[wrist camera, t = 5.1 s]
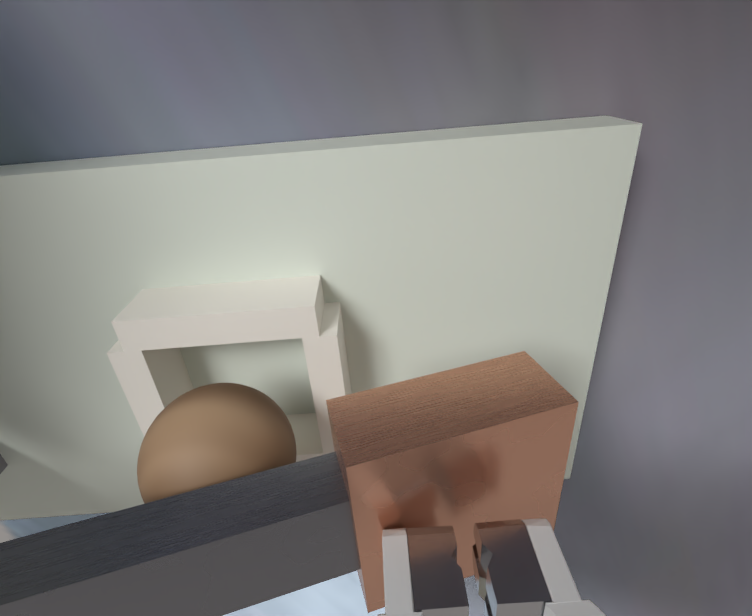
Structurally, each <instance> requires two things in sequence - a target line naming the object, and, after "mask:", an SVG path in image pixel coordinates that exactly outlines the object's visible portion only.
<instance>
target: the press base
mask: <svg viewBox="0 0 752 616" xmlns="http://www.w3.org/2000/svg"><path fill="white" fill-rule="evenodd" d="M642 124H643V123H638V122H634V121H629V120H625V119H620V118H616V117H611V116H607V115H606V116H594V117H582V118H569V119H557V120H545V121H533V122H521V123H509V124H497V125H485V126H473V127H460V128H448V129H436V130H424V131H412V132H400V133H388V134H376V135H363V136H351V137H339V138H327V139H315V140H303V141H291V142H279V143H267V144H254V145H242V146H230V147H218V148H206V149H194V150H182V151H170V152H158V153H145V154H133V155H121V156H109V157H97V158H85V159H73V160H61V161H48V162H36V163H24V164H12V165H0V520H13V519H27V518H41V517H54V516H68V515H82V514H95V513H109V512H116V511H120V510H123V509H127V508H131V507H134V506H138V505H142V504H145V503H144V502H143V499H142V497H141V494H140V490H139V486H138V480H137V462H138V455H139V451H140V447H141V444H142V441H143V439H144V437H145V435H146V432H147V430H148V428H149V427H150V425H151V424H152V423H153V421H154V420H155V418H156V417H157V415H158V414H159V413H160V412H161V411H162V410H163V409H164V408H165V407H166V406H167V405H168V404H170V403H171V402H172V401H174V400H175V399H176V398H178V397H179V396H181V395H182V394H184V393H186V392H188V391H190V390H192V389H195V388H198V387H200V386H204V385H209V384H214V383H236V384H242V385H246V386H249V387H252V388H254V389H257V390H259V391H261V392H263V393H264V394H266V395H267V396H269V397H270V398H271V399H272V400H274V401H275V402H276V404H277V405H278V406H279V407H280V408H281V409H282V410H283V412H284V413H285V415H286V416H287V418H288V420H289V422H290V424H291V426H292V429H293V433H294V436H295V441H296V451H297V454H296V462H299V461H302V460H306V459H310V458H313V457H317V456H321V455H324V454H328V453H331V452H335V451H334V445H333V439H332V433H331V427H330V421H329V415H328V409H327V404H326V400H328V399H332V398H336V397H341V396H345V395H349V394H353V393H357V392H361V391H365V390H369V389H373V388H377V387H381V386H385V385H389V384H393V383H397V382H401V381H405V380H409V379H413V378H417V377H421V376H425V375H429V374H433V373H437V372H441V371H446V370H450V369H454V368H458V367H462V366H466V365H470V364H474V363H478V362H482V361H486V360H490V359H494V358H498V357H502V356H506V355H510V354H514V353H518V352H522V351H525V352H526V353H527V354H528V355H530V356H531V357H532V358H533V359H534V360H535V361H536V362H537V363H538V364H539V365H540V366H541V367H542V368H543V369H544V370H545V371H546V372H548V373H549V374H550V375H551V376H552V377H553V378H554V379H555V380H556V381H557V382H558V383H559V384H560V385H561V386H562V387H563V388H564V389H566V390H567V391H568V392H569V393H570V394H571V395H572V396H573V397H574V398H575V399H576V400H577V401H578V402H579V403H578V408H577V414H576V419H575V424H574V429H573V434H572V439H571V444H570V450H569V455H568V460H567V465H566V470H565V475H564V479H570V476H571V471H572V466H573V461H574V456H575V451H576V446H577V441H578V437H579V432H580V427H581V422H582V417H583V412H584V407H585V402H586V397H587V393H588V388H589V383H590V378H591V373H592V368H593V363H594V358H595V353H596V349H597V344H598V339H599V334H600V329H601V324H602V319H603V314H604V309H605V304H606V300H607V295H608V290H609V285H610V280H611V275H612V270H613V265H614V260H615V256H616V251H617V246H618V241H619V236H620V231H621V226H622V221H623V216H624V212H625V207H626V202H627V197H628V192H629V187H630V182H631V177H632V172H633V168H634V163H635V158H636V153H637V148H638V143H639V138H640V133H641V128H642Z"/></svg>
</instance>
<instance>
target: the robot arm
mask: <svg viewBox="0 0 752 616" xmlns="http://www.w3.org/2000/svg"><path fill="white" fill-rule="evenodd" d="M406 532H407V533H406ZM473 534H474V539H475V543H476V544H475V545H474V546H473V551H472V557H473V569H474V575H475V581H476V586H477V590H478V594H479V595H480V597H481V598H482V599H483V600H484V601H485V602H484V616H607V615H606V614H604V613H603V612H602V611H601V610H600V609H599V608H598V607H597V606H596V605H595V604H594V603H593V602H592V601H591V600H582V599H581V596H580V594H579V591H578V589H577V587H576V584H575V582H574V579H573V577H572V574H571V572H570V570H569V567H568V565H567V562H566V560H565V558H564V555H563V553H562V550H561V548H560V546H559V543H558V541H557V538H556V536H555V534H554V531H553V529H552V526H551V524H550V523H549V521H548V520H547V519H546V518H534V519H523V520H521V519H515V520H504V521H493V522H482V523H475V524H474V530H473ZM382 549H383V572H384V595H385V614H379V615H378V616H469V604H468V599H467V594H466V589H465V583H464V578H463V573H462V568H461V567H460V566H459V565H458V564H457V542H456V538H455V533H454V529H453V526H451V525H449V526H434V527H418V528H398V529H386V530H383V532H382Z"/></svg>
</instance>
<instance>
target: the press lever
mask: <svg viewBox="0 0 752 616" xmlns="http://www.w3.org/2000/svg"><path fill="white" fill-rule="evenodd" d="M578 403H579V402H578V401H577V400H576V399H575V398H574V397H573V396H572V395H571V394H570V393H569V392H568V391H567V390H566V389H564V388H563V387H562V386H561V385H560V384H559V383H558V382H557V381H556V380H555V379H554V378H553V377H552V376H551V375H550V374H549V373H548V372H546V371H545V370H544V369H543V368H542V367H541V366H540V365H539V364H538V363H537V362H536V361H535V360H534V359H533V358H532V357H531V356H530V355H528V354H527V353H526V352H525V351H522V352H518V353H514V354H510V355H506V356H502V357H498V358H494V359H490V360H486V361H482V362H478V363H474V364H470V365H466V366H462V367H458V368H454V369H450V370H446V371H441V372H437V373H433V374H429V375H425V376H421V377H417V378H413V379H409V380H405V381H401V382H397V383H393V384H389V385H385V386H381V387H377V388H373V389H369V390H365V391H361V392H357V393H353V394H349V395H345V396H341V397H336V398H332V399H328V400H326V404H327V409H328V415H329V421H330V427H331V433H332V439H333V445H334V451H335V452H331V453H328V454H324V455H321V456H317V457H313V458H310V459H306V460H302V461H299V462H295V463H291V464H288V465H284V466H280V467H277V468H273V469H269V470H266V471H262V472H258V473H255V474H251V475H247V476H244V477H240V478H236V479H233V480H229V481H226V482H222V483H218V484H215V485H211V486H207V487H204V488H200V489H196V490H193V491H189V492H185V493H182V494H178V495H174V496H171V497H167V498H163V499H160V500H156V501H152V502H149V503H145V504H142V505H138V506H134V507H131V508H127V509H123V510H120V511H116V512H112V513H109V514H105V515H101V516H98V517H94V518H90V519H87V520H83V521H79V522H76V523H72V524H68V525H65V526H61V527H58V528H54V529H50V530H47V531H43V532H39V533H36V534H32V535H28V536H25V537H21V538H17V539H14V540H10V541H6V542H3V543H0V616H222V615H225V614H228V613H231V612H234V611H237V610H240V609H243V608H246V607H249V606H252V605H255V604H258V603H261V602H264V601H267V600H270V599H273V598H276V597H279V596H282V595H285V594H288V593H291V592H294V591H297V590H300V589H303V588H306V587H309V586H311V585H314V584H317V583H320V582H323V581H326V580H329V579H332V578H335V577H338V576H341V575H344V574H347V573H350V572H353V571H356V570H357V571H358V575H359V579H360V583H361V587H362V591H363V595H364V598H365V602H366V606H367V610H368V613H369V612H371V611H374V610H377V609H380V608H383V607H385V595H384V572H383V549H382V532H383V530H386V529H398V528H418V527H434V526H449V525H451V526H453V529H454V533H455V538H456V542H457V564H458V565H459V566H460V567H461V568H462V573H463V578H466V577H469V576H472V575H474V569H473V557H472V551H473V546H474V545H475V544H476V543H475V539H474V534H473V530H474V524H475V523H482V522H493V521H504V520H515V519H521V520H523V519H534V518H546V519H547V520H548V521H549V523H550V524H551V526H552V529H553V531H554V527H555V521H556V516H557V511H558V506H559V501H560V496H561V491H562V485H563V480H564V475H565V470H566V465H567V460H568V455H569V450H570V444H571V439H572V434H573V429H574V424H575V419H576V414H577V408H578ZM406 533H407V532H406Z"/></svg>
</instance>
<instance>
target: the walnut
mask: <svg viewBox="0 0 752 616" xmlns="http://www.w3.org/2000/svg"><path fill="white" fill-rule="evenodd" d="M296 454H297V451H296V441H295V436H294V433H293V429H292V426H291V424H290V422H289V420H288V418H287V416H286V415H285V413H284V412H283V410H282V409H281V408H280V407H279V406H278V405H277V404H276V402H275V401H274V400H272V399H271V398H270V397H269V396H267V395H266V394H264V393H263V392H261V391H259V390H257V389H254V388H252V387H249V386H246V385H242V384H236V383H214V384H209V385H204V386H200V387H198V388H195V389H192V390H190V391H188V392H186V393H184V394H182V395H181V396H179V397H178V398H176V399H175V400H174V401H172V402H171V403H170V404H168V405H167V406H166V407H165V408H164V409H163V410H162V411H161V412H160V413H159V414H158V415H157V417H156V418H155V420H154V421H153V423H152V424H151V425H150V427H149V428H148V430H147V432H146V435H145V437H144V439H143V441H142V444H141V447H140V451H139V455H138V462H137V480H138V486H139V490H140V494H141V497H142V499H143V502H144V503H149V502H152V501H156V500H160V499H163V498H167V497H171V496H174V495H178V494H182V493H185V492H189V491H193V490H196V489H200V488H204V487H207V486H211V485H215V484H218V483H222V482H226V481H229V480H233V479H236V478H240V477H244V476H247V475H251V474H255V473H258V472H262V471H266V470H269V469H273V468H277V467H280V466H284V465H288V464H291V463H295V462H296Z"/></svg>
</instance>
